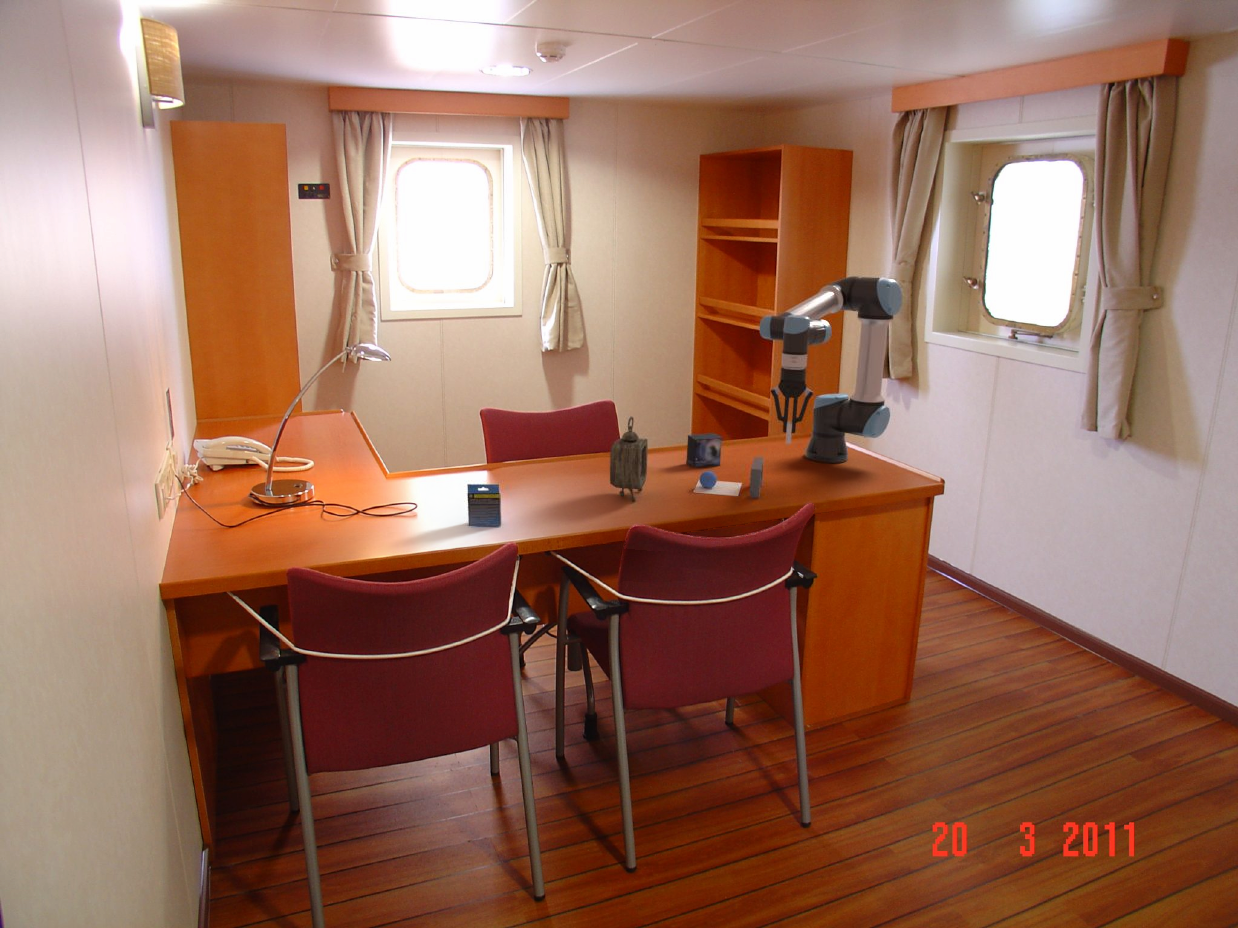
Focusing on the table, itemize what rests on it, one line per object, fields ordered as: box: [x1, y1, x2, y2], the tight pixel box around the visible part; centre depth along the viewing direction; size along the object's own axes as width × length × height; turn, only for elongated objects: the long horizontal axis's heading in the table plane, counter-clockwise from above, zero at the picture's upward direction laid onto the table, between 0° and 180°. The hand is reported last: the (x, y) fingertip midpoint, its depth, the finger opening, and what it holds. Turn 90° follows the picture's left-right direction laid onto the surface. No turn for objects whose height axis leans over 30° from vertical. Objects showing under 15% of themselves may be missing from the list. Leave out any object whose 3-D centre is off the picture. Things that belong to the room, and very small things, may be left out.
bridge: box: [748, 456, 765, 499], centre depth 281 cm, size 3×14×9 cm, turn 168°
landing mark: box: [692, 479, 743, 497], centre depth 285 cm, size 14×14×1 cm
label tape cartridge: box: [466, 483, 502, 527], centre depth 246 cm, size 9×4×12 cm, turn 92°
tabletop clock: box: [609, 416, 648, 503], centre depth 272 cm, size 14×9×25 cm, turn 168°
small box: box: [685, 432, 723, 469], centre depth 310 cm, size 11×6×10 cm, turn 112°
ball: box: [699, 470, 718, 488], centre depth 284 cm, size 6×6×6 cm
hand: (788, 442), depth 276 cm, fingers closed
